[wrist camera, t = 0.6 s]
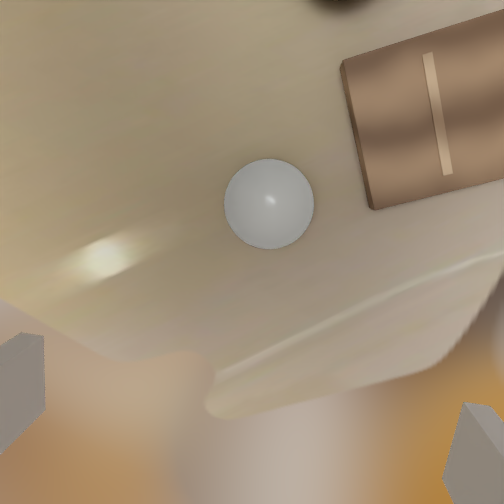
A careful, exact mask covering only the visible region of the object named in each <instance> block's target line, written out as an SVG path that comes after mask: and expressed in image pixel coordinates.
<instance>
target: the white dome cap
mask: <svg viewBox="0 0 504 504" xmlns="http://www.w3.org/2000/svg"><path fill="white" fill-rule="evenodd" d="M224 210H225V215H226V219H227V221H228V223H229V225H230V227H231V229H232V230H233V232H234V233H235V234H236V235H237V236H238V237H239V238H240V239H241V240H243V241H244V242H246V243H247V244H249V245H251V246H254V247H257V248H261V249H277V248H281V247H284V246H287V245H289V244H291V243H293V242H294V241H296V240H297V239H298V238H299V237H300V236H301V235H302V234H303V233H304V232H305V230H306V229H307V227H308V226H309V224H310V221H311V219H312V215H313V211H314V198H313V193H312V189H311V187H310V185H309V182H308V181H307V179H306V178H305V176H304V175H303V174H302V173H301V172H300V171H299V170H298V169H297V168H296V167H294V166H293V165H291V164H289V163H287V162H284V161H281V160H276V159H261V160H257V161H254V162H251V163H249V164H247V165H245V166H244V167H243V168H241V169H240V170H239V171H238V172H237V173H236V174H235V175H234V176H233V178H232V179H231V181H230V182H229V185H228V187H227V189H226V193H225V198H224Z"/></svg>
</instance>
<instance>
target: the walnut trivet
mask: <svg viewBox="0 0 504 504" xmlns="http://www.w3.org/2000/svg"><path fill="white" fill-rule="evenodd" d="M340 71H341V76H342V81H343V86H344V90H345V95H346V100H347V104H348V109H349V114H350V118H351V123H352V128H353V133H354V137H355V142H356V147H357V151H358V156H359V161H360V165H361V170H362V175H363V179H364V184H365V189H366V194H367V198H368V203H369V208H371V209H373V210H378V209H382V208H386V207H390V206H394V205H398V204H402V203H406V202H410V201H414V200H418V199H422V198H426V197H430V196H434V195H438V194H442V193H446V192H450V191H454V190H458V189H462V188H466V187H470V186H474V185H479V184H483V183H487V182H491V181H495V180H499V179H503V178H504V9H502V10H499V11H496V12H493V13H490V14H487V15H483V16H480V17H477V18H474V19H471V20H468V21H464V22H461V23H458V24H455V25H452V26H449V27H446V28H442V29H439V30H436V31H433V32H430V33H427V34H423V35H420V36H417V37H414V38H411V39H408V40H405V41H401V42H398V43H395V44H392V45H389V46H386V47H382V48H379V49H376V50H373V51H370V52H367V53H364V54H360V55H357V56H354V57H351V58H348V59H345V60H343V61H342V64H341V66H340Z"/></svg>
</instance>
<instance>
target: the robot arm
mask: <svg viewBox="0 0 504 504" xmlns="http://www.w3.org/2000/svg"><path fill="white" fill-rule="evenodd" d="M44 411H45V374H44V336H40V335H34V334H28V333H19V334H18V335H16V336H15V337H13V338H12V339H10V340H8V341H7V342H5V343H3V344H2V345H1V346H0V454H1V453H3V452H4V450H6V448H8V447H9V445H11V444H12V443H13V442H14V441H15V440H16V439H17V438H18V437H19V436H20V435H21V434H22V433H23V432H24V430H26V429H27V428H28V427H29V426H30V425H31V424H32V423H33V422H34V420H36V418H38V417H39V416H40V415H41V414H42V413H43V412H44ZM442 479H443V481H444V484H445V486H446V488H447V490H448V492H449V494H450V496H451V498H452V500H453V503H454V504H504V422H503V421H502V420H501V419H500V417H499V416H498V415H497V414H496V412H495V411H494V410H493V409H492V408H491V406H487V405H480V404H473V403H467V402H463V405H462V409H461V413H460V416H459V420H458V423H457V427H456V430H455V434H454V438H453V441H452V445H451V448H450V452H449V455H448V459H447V463H446V466H445V470H444V473H443V477H442Z"/></svg>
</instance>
